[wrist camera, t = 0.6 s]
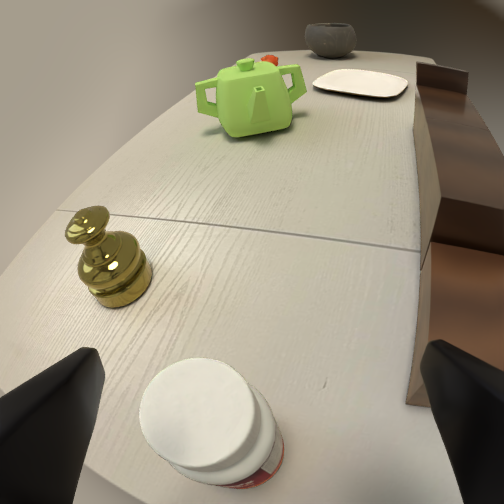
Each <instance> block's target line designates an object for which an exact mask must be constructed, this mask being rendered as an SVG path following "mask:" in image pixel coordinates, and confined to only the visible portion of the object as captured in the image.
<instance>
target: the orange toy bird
mask: <svg viewBox="0 0 504 504" xmlns="http://www.w3.org/2000/svg"><path fill="white" fill-rule="evenodd" d="M261 60H262V62H263V61H267V62H270V63H272V64H274V65H275V66H277V65H278V58H277V57H275V56H273V55H266V56H265V57H263V58H261Z"/></svg>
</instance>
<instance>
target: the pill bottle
mask: <svg viewBox="0 0 504 504" xmlns="http://www.w3.org/2000/svg"><path fill="white" fill-rule="evenodd" d="M139 420H140V426H141V430H142V433H143V435H144V437H145V439H146V441H147V443H148V444H149V446H150V447H151V448H152V449H153V450H154V451H155V452H156V453H157V454H158V455H159V456H160V457H162V458H163V459H165V460H167V461H168V462H169V463H170V465H171V466H172V467H173V468H174V469H175V470H177V471H178V472H179V473H181V474H182V475H184V476H185V477H187V478H189V479H192V480H194V481H197V482H200V483H204V484H209V485H216V486H222V487H228V488H236V489H246V488H252V487H255V486H258V485H261V484H262V483H264V482H266V481H267V480H269V479H270V478H271V477H272V476H273V475H274V474H275V473H276V472H277V470H278V469H279V467H280V465H281V463H282V460H283V456H284V443H283V439H282V435H281V433H280V430H279V428H278V426H277V423H276V421H275V418H274V416H273V413H272V410H271V408H270V406H269V404H268V403H267V401H266V399H265V398H264V397H263V396H262V394H261V393H260V392H259V391H258V390H257V389H256V388H254V387H253V386H252V385H250V384H249V383H247V382H246V380H245V379H244V378H243V376H242V375H241V374H240V373H239V372H238V371H236V370H235V369H234V368H232V367H231V366H229V365H228V364H226V363H223V362H221V361H218V360H215V359H210V358H189V359H185V360H181V361H178V362H176V363H173V364H171V365H170V366H168V367H166V368H165V369H163V370H162V371H161V372H160V373H158V374H157V375H156V376H155V377H154V378H153V380H152V381H151V382H150V383H149V385H148V387H147V388H146V390H145V392H144V394H143V397H142V400H141V404H140V410H139Z"/></svg>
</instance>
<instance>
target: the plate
mask: <svg viewBox="0 0 504 504" xmlns="http://www.w3.org/2000/svg"><path fill="white" fill-rule="evenodd" d="M407 85H408V82H407V81H406V80H405V79H404V78H401V77H398V76H395V75H390V74H385V73H379V72H373V71H366V70H357V69H340V70H334V71H332V72H329V73H327V74H325V75H323V76H321V77H319V78H318V79H316V80H315V81H314V82H313V86H314V87H317V88H320V89H324V90H330V91H335V92H341V93H347V94H353V95H360V96H369V97H381V98H389V97H394V96H397V95H398V94H400V93H401V92H402V91H403V90H404V89H405V88H406V87H407Z"/></svg>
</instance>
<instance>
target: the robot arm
mask: <svg viewBox="0 0 504 504" xmlns="http://www.w3.org/2000/svg"><path fill="white" fill-rule="evenodd" d="M420 373H421V376H422V379H423V382H424V386H425V389H426V393H427V396H428V400H429V403H430V407H431V410H432V413H433V416H434V419H435V421H436V424H437V427H438V429H439V432H440V434H441V437H442V440H443V442H444V445H445V448H446V451H447V454H448V456H449V459H450V462H451V465H452V468H453V471H454V474H455V477H456V480H457V483H458V486H459V490H460V493H461V496H462V499H463V503H464V504H504V371H502V370H500V369H498V368H496V367H494V366H492V365H491V364H489V363H487V362H485V361H483V360H481V359H479V358H477V357H475V356H473V355H471V354H469V353H468V352H466V351H464V350H462V349H460V348H458V347H456V346H454V345H452V344H450V343H448V342H446V341H444V340H442V339H437V340H431V341H429V342H428V343H427V345H426V348H425V351H424V354H423V356H422V359H421V362H420ZM104 381H105V371H104V368H103V365H102V362H101V359H100V356H99V353H98V351H97V350H96V349H95V348H89V347H82V348H80V349H78V350H77V351H75V352H73V353H72V354H70V355H68V356H67V357H65V358H64V359H62V360H60V361H59V362H57V363H55V364H54V365H52V366H51V367H49V368H47V369H46V370H44V371H42V372H41V373H39V374H38V375H36V376H34V377H33V378H31V379H30V380H28V381H26V382H25V383H23V384H21V385H20V386H18V387H17V388H15V389H13V390H12V391H10V392H9V393H7V394H5V395H4V396H2V397H1V398H0V504H73V499H74V496H75V492H76V488H77V484H78V480H79V477H80V473H81V470H82V466H83V463H84V459H85V456H86V452H87V449H88V446H89V442H90V439H91V436H92V433H93V430H94V426H95V422H96V418H97V413H98V408H99V403H100V399H101V394H102V390H103V385H104Z"/></svg>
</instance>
